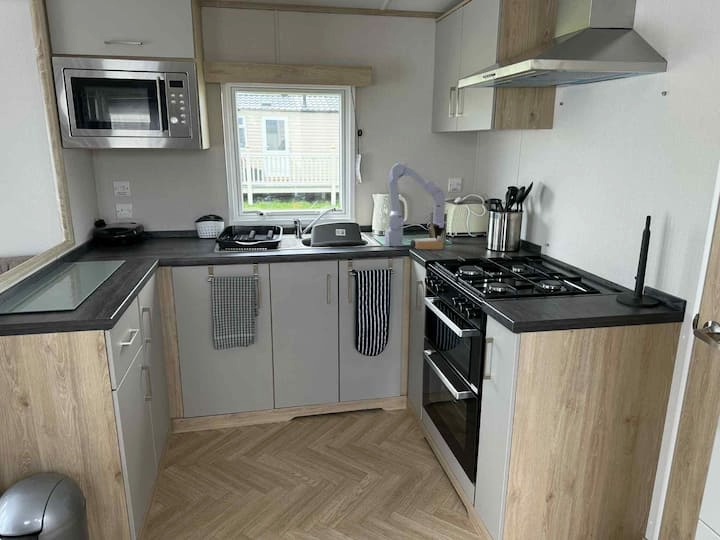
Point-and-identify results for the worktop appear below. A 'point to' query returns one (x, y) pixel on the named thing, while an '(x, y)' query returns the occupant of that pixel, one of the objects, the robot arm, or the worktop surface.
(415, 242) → the pale upright slab
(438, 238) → the side door
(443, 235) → the coffee box
